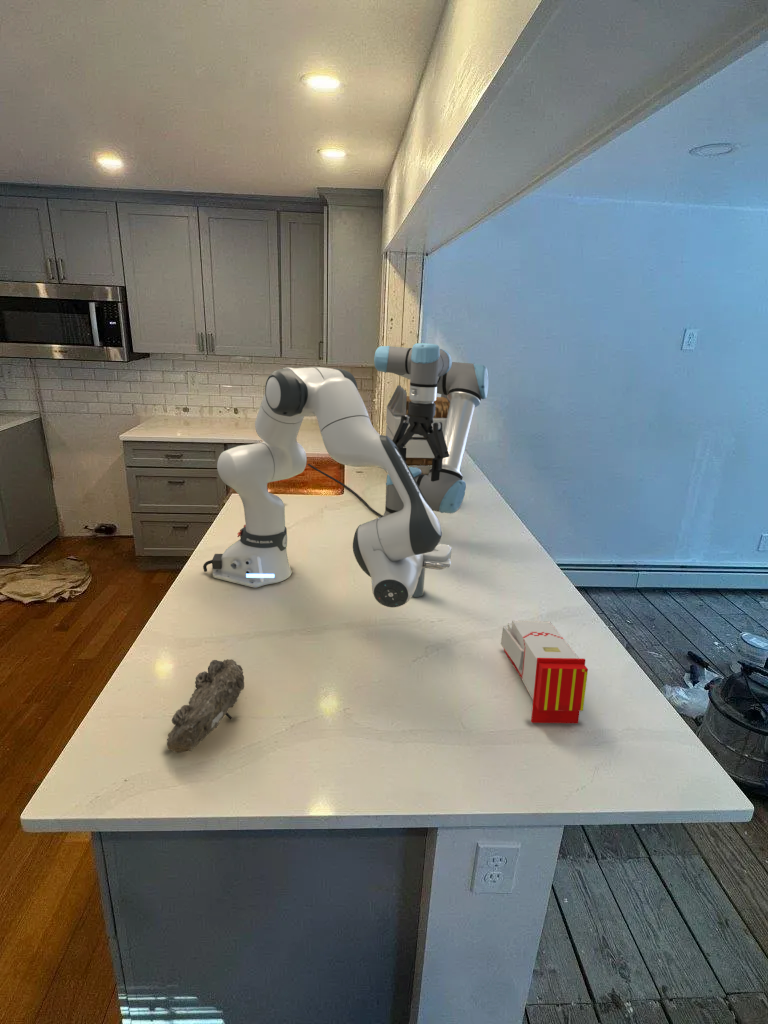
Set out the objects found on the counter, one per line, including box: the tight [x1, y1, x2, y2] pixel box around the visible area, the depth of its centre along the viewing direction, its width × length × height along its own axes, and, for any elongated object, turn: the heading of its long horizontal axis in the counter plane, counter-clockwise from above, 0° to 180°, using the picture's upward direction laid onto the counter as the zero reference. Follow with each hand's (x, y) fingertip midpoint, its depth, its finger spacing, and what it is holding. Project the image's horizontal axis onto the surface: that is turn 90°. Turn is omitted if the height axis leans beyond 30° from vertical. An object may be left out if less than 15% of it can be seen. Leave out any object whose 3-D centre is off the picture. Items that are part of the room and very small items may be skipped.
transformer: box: [385, 384, 462, 472], centre depth 268 cm, size 34×33×41 cm
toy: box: [500, 620, 589, 724], centre depth 121 cm, size 12×13×30 cm
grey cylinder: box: [411, 568, 426, 598], centre depth 156 cm, size 5×5×19 cm
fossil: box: [166, 658, 245, 754], centre depth 106 cm, size 22×10×15 cm
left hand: (412, 539), depth 140 cm, fingers open, 8 cm apart
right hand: (417, 475), depth 165 cm, fingers open, 13 cm apart
